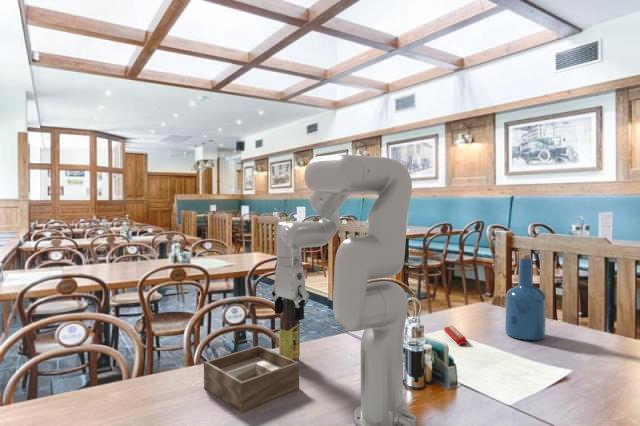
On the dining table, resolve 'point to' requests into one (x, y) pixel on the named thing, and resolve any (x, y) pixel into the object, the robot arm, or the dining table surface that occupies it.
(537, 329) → the wine bottle
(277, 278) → the robot arm
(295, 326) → the sauce bottle
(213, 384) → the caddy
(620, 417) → the dining table surface
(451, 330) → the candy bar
